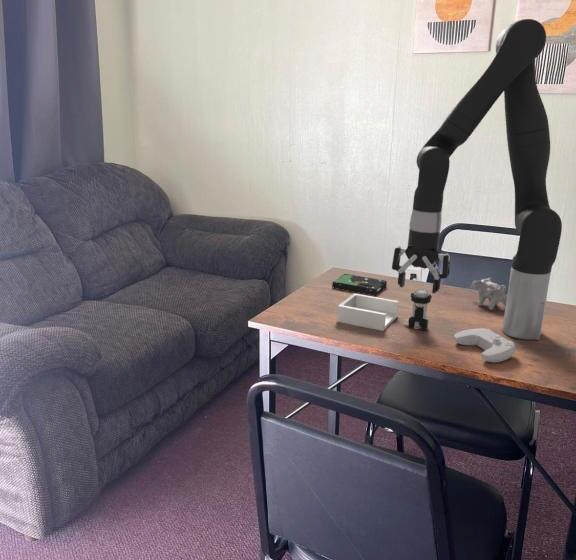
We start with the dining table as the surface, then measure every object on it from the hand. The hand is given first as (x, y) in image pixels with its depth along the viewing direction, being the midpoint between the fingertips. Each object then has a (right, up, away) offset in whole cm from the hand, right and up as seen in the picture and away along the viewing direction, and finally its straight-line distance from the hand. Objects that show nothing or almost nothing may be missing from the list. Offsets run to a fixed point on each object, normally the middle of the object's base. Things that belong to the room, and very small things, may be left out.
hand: (417, 289), depth 145 cm
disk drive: (-11, -1, +35) cm, 36 cm away
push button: (0, -10, +3) cm, 11 cm away
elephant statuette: (+25, -5, +21) cm, 33 cm away
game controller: (+14, -15, -10) cm, 23 cm away
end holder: (-12, -8, +8) cm, 16 cm away
